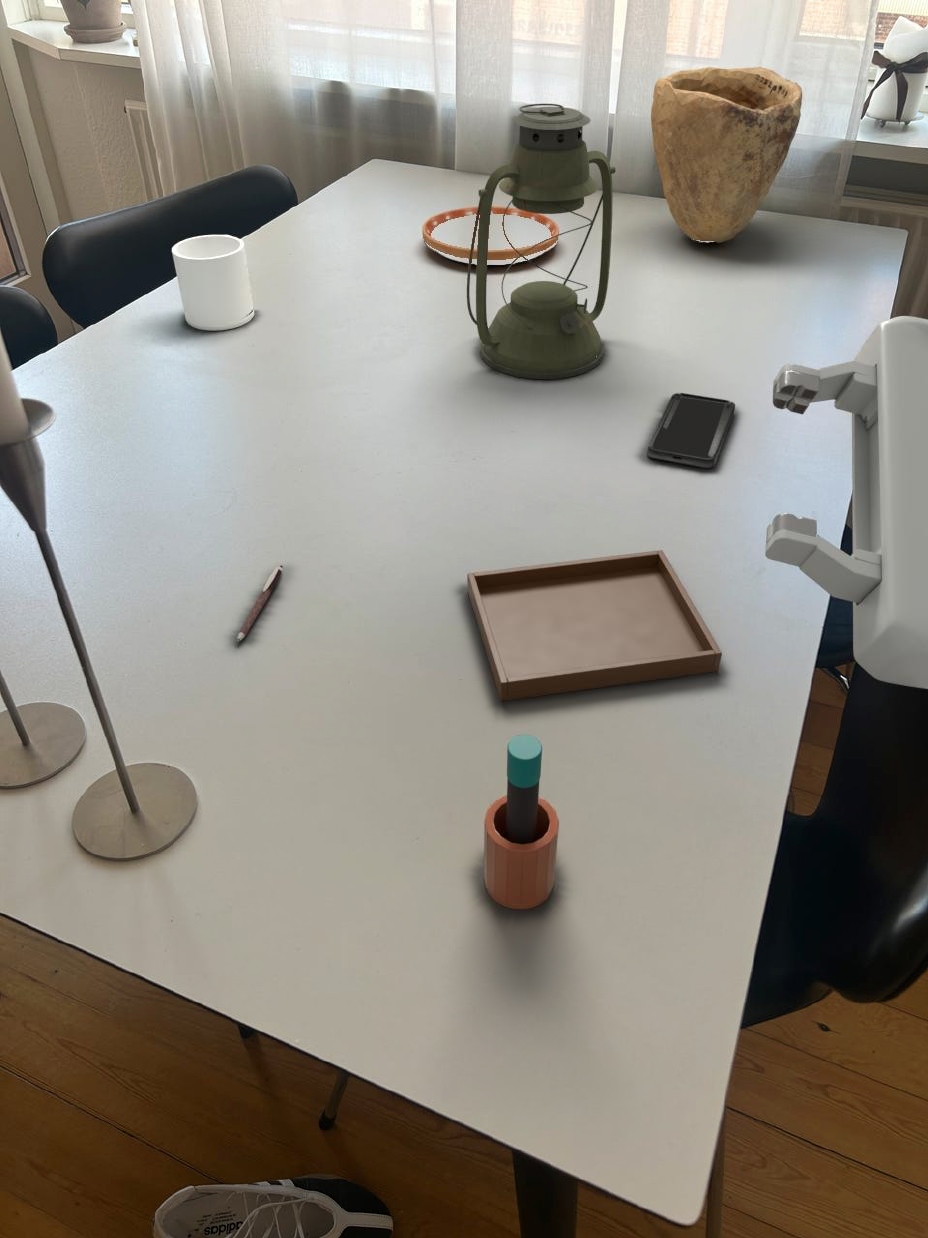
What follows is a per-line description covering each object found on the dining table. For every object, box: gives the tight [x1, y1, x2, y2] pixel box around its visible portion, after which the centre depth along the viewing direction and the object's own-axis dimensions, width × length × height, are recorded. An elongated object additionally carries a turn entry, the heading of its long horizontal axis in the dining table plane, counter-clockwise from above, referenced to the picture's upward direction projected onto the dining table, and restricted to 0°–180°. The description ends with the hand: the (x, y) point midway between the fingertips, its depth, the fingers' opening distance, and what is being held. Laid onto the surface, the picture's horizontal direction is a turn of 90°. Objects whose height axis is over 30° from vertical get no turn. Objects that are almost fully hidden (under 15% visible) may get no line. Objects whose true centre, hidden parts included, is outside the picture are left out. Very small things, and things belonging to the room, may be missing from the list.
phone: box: [646, 392, 736, 469], centre depth 114 cm, size 8×1×15 cm
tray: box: [466, 549, 723, 702], centre depth 87 cm, size 19×15×2 cm
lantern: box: [466, 103, 616, 380], centre depth 123 cm, size 21×18×30 cm
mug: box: [171, 234, 255, 332], centre depth 140 cm, size 13×10×10 cm
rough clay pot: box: [650, 66, 803, 244], centre depth 157 cm, size 22×22×25 cm
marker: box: [506, 734, 543, 844], centre depth 63 cm, size 2×2×13 cm
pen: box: [236, 564, 284, 642], centre depth 90 cm, size 11×1×1 cm, turn 168°
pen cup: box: [483, 794, 560, 910], centre depth 65 cm, size 5×5×6 cm
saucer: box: [421, 205, 560, 260], centre depth 163 cm, size 23×23×4 cm
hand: (773, 455), depth 46 cm, fingers open, 8 cm apart
